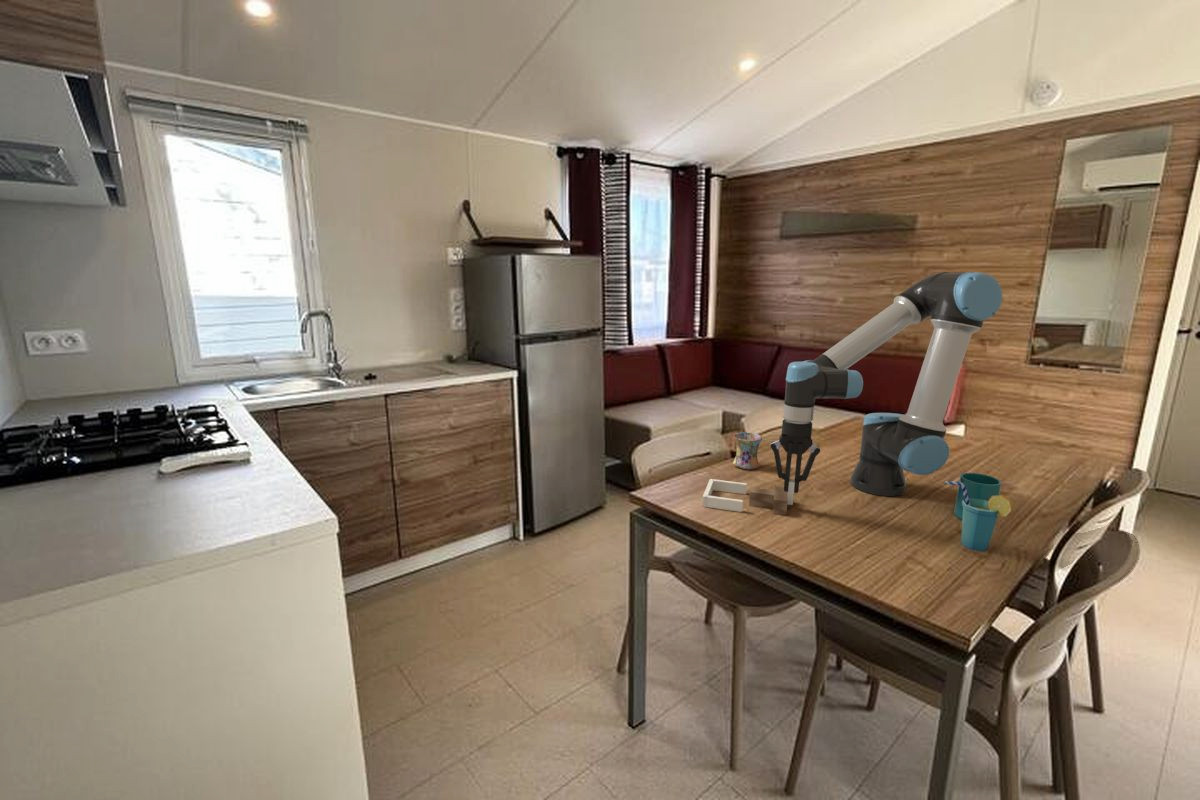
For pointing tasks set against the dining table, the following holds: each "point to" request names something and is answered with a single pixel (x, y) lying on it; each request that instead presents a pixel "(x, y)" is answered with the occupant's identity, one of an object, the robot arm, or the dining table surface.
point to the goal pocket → (720, 501)
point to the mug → (747, 450)
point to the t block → (770, 499)
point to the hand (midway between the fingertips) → (789, 502)
